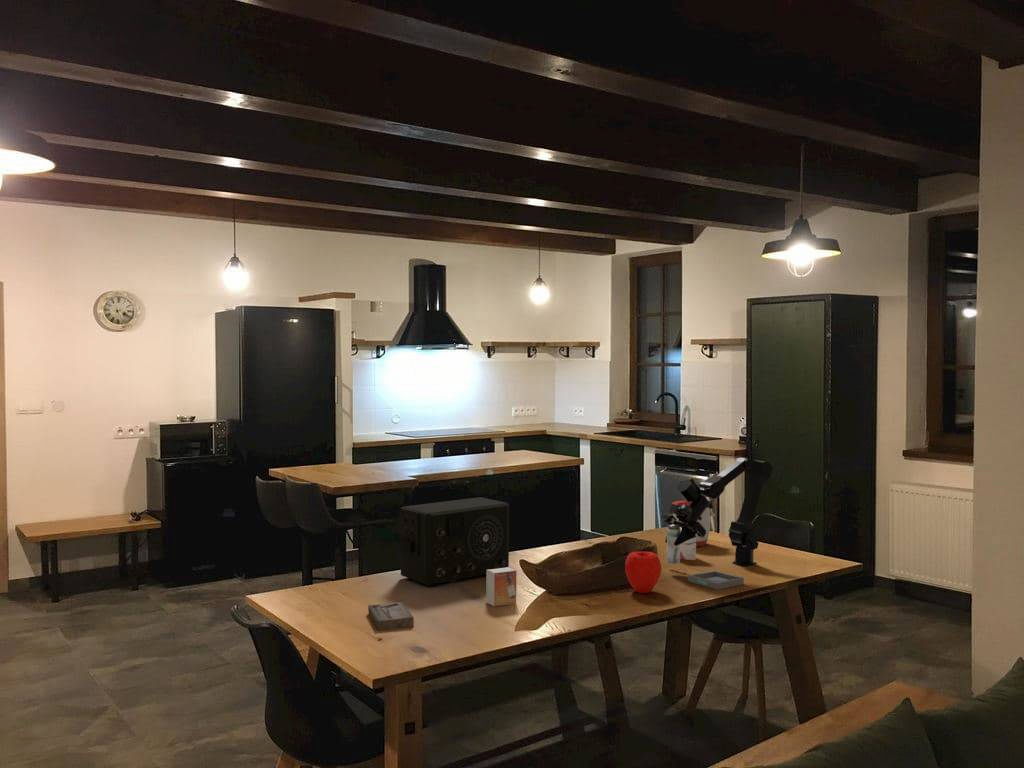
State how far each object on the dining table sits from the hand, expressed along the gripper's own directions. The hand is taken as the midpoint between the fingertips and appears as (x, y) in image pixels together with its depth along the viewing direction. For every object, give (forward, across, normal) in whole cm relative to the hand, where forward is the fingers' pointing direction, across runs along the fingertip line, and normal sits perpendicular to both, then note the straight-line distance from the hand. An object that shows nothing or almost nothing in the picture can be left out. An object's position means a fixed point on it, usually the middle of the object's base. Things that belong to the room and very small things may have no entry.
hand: (670, 543), depth 306 cm
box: (+83, +5, -67) cm, 107 cm away
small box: (+57, +5, -42) cm, 71 cm away
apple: (+23, +14, -8) cm, 28 cm away
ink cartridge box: (-6, -17, +22) cm, 29 cm away
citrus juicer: (-20, -36, +37) cm, 55 cm away
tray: (+3, +16, +12) cm, 21 cm away
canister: (+4, 0, +6) cm, 7 cm away
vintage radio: (+56, -33, -41) cm, 76 cm away
